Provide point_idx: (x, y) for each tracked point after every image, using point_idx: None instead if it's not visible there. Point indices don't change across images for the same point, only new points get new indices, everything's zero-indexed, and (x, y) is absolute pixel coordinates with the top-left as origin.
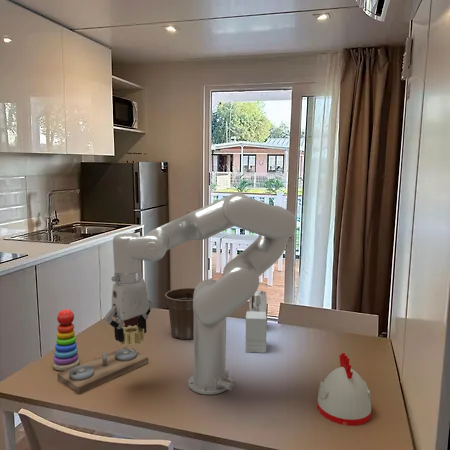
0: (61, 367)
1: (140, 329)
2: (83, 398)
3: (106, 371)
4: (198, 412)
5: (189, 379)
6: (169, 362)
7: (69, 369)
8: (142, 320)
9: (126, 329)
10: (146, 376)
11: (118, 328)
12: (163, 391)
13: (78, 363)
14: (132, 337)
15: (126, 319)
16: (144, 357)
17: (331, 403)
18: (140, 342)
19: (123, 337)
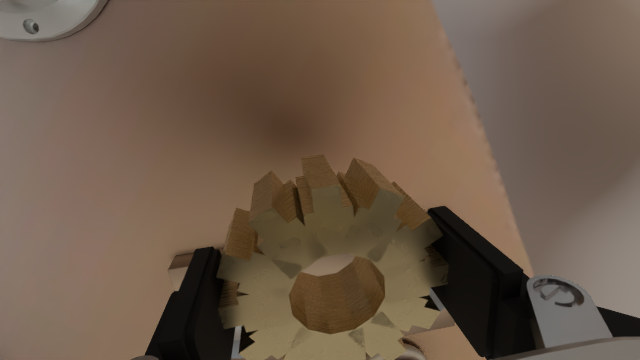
0: (420, 355)
1: (263, 259)
2: (451, 182)
3: (344, 261)
4: None
5: (87, 6)
6: (97, 215)
7: (418, 330)
8: (198, 358)
9: (357, 327)
10: (228, 177)
11: (563, 282)
12: (229, 36)
13: (369, 356)
14: (385, 184)
15: (598, 340)
16: (182, 276)
17: None
18: (303, 157)
19: (442, 225)
